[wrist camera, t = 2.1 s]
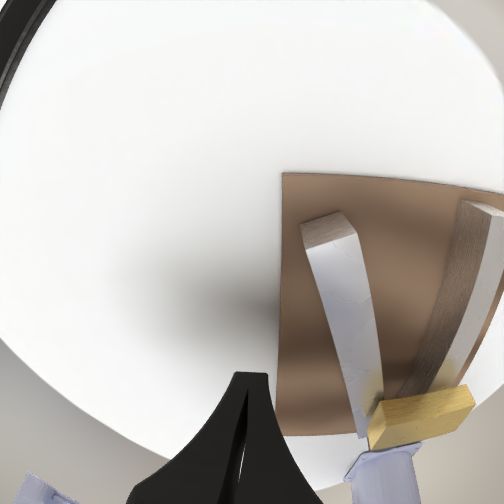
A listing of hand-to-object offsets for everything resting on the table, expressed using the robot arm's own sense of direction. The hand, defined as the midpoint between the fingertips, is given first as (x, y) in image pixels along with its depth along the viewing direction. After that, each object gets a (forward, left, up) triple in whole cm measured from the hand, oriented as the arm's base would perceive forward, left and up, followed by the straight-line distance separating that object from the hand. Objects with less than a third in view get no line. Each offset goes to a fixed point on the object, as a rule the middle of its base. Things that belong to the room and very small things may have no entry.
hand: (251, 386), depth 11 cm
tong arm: (-1, -5, -4) cm, 7 cm away
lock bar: (-5, -10, -1) cm, 11 cm away
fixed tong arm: (-2, -10, -5) cm, 12 cm away
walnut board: (-3, -9, -6) cm, 11 cm away
